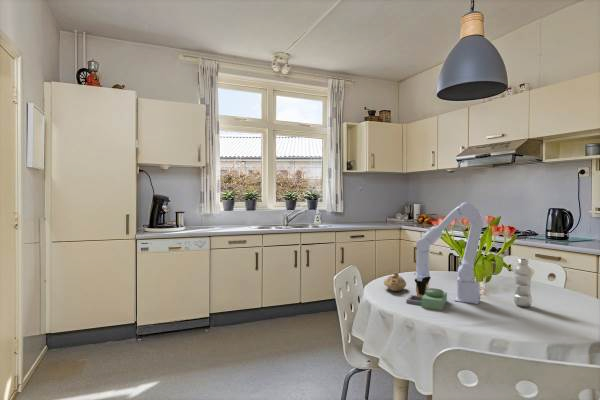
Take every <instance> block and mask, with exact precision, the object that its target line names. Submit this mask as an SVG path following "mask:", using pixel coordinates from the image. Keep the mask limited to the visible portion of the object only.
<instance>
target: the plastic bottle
mask: <svg viewBox="0 0 600 400" xmlns="http://www.w3.org/2000/svg"><path fill="white" fill-rule="evenodd" d="M517 264H518V265H516V267H515V268H514V270H513V273H514V279H515V291H514V295H513V302H514V304H515V305H516V306H519V307H525V308H527V307H531V306H532V304H533V298H532V293H531V282H532V274H533V272H532V270H531V268H530V266H529V259H527V258H517Z"/></svg>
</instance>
